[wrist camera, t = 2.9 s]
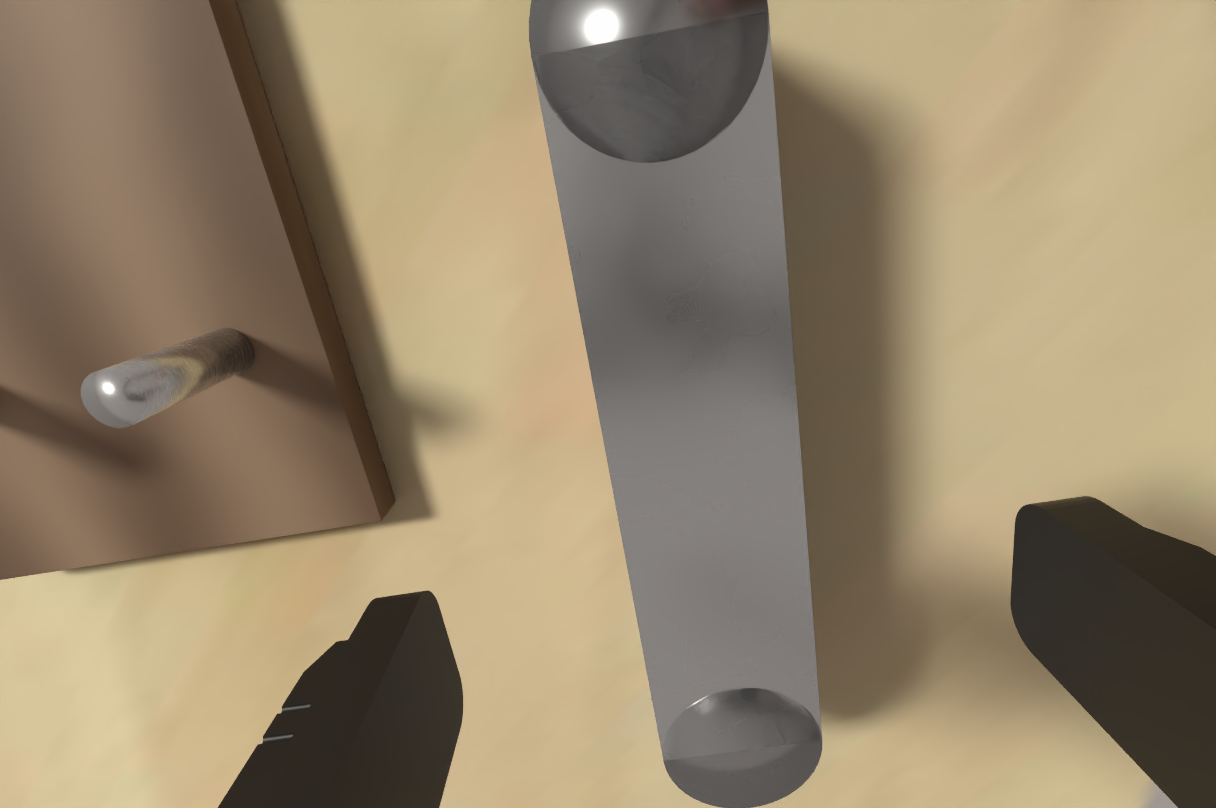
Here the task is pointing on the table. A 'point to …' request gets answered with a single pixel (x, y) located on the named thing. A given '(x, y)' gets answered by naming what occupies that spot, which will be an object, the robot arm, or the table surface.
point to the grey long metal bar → (692, 368)
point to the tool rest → (160, 299)
